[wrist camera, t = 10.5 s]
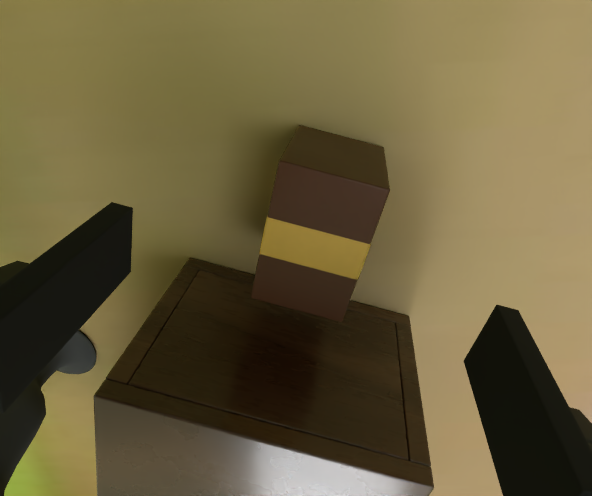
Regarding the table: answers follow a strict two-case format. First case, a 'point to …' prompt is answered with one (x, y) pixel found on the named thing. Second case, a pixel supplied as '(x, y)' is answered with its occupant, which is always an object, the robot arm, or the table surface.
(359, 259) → the chocolate
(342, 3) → the table surface
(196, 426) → the cabinet
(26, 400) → the sundae
